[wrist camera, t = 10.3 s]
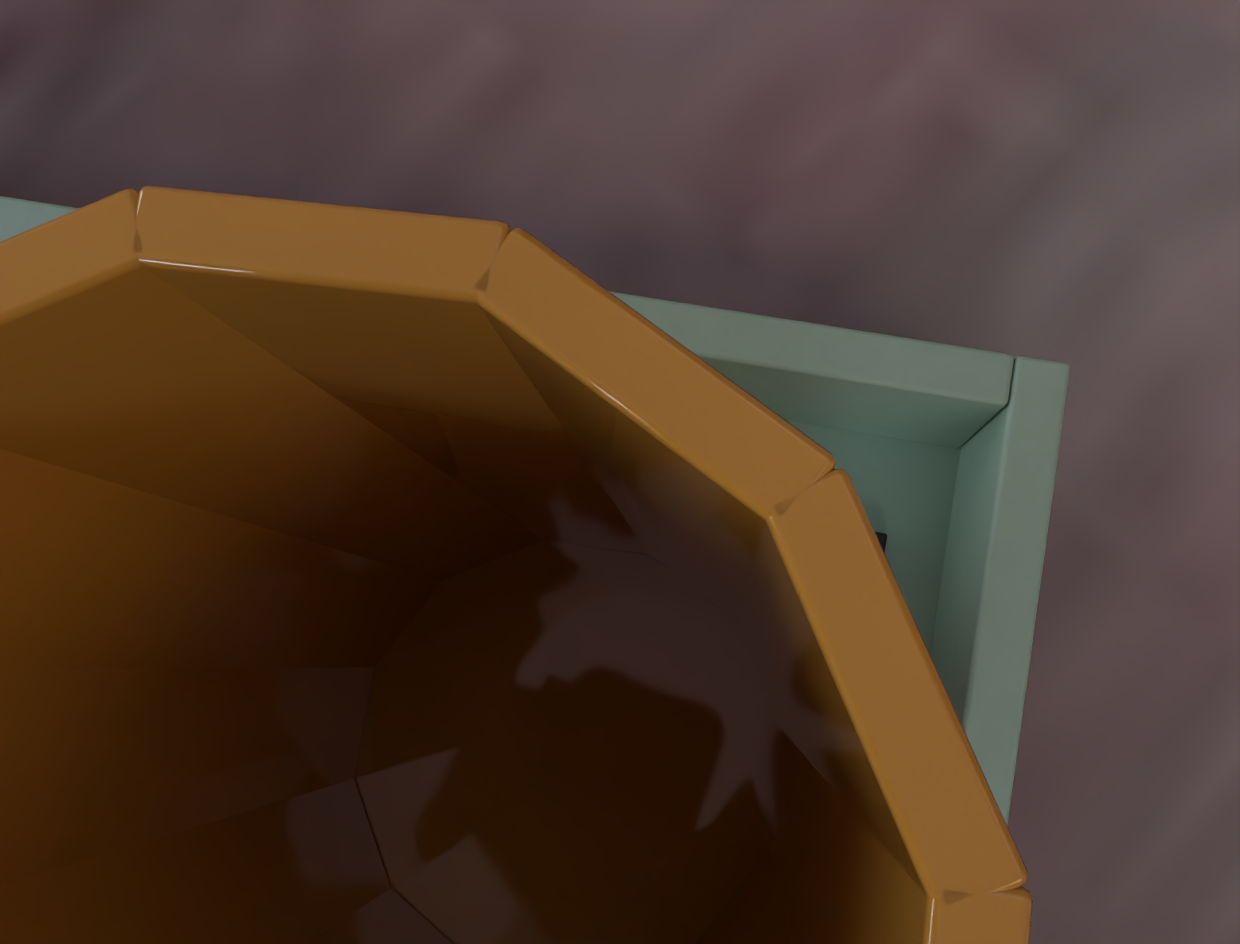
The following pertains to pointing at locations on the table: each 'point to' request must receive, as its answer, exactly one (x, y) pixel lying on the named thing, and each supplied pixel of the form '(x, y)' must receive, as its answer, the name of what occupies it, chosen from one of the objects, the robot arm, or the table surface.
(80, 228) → the cup
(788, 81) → the table surface
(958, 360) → the green tray
